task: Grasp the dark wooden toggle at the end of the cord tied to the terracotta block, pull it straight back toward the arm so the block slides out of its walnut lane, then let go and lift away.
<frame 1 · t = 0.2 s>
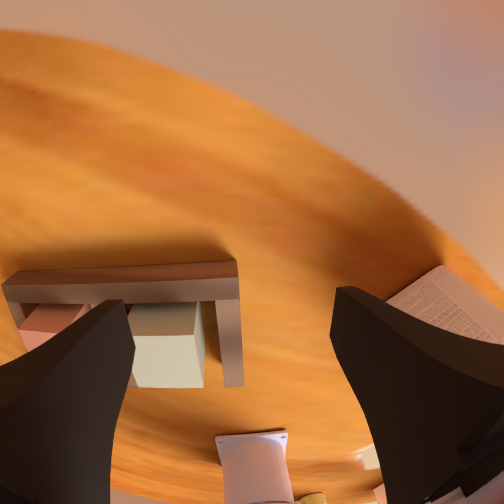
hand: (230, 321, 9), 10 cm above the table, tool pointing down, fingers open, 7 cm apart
plain block: (172, 318, 21), resting in lane rack
lane rack: (79, 329, 20), on the table
tethered block: (75, 319, 20), on the table
tube: (312, 495, 39), on the table
photo printer: (403, 303, 23), on the table
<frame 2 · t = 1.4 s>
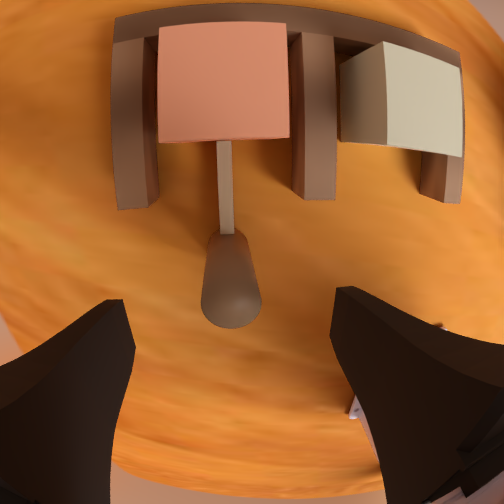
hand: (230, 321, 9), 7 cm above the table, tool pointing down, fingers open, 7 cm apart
plain block: (375, 107, 14), resting in lane rack
lane rack: (223, 116, 13), on the table
tethered block: (223, 98, 13), on the table
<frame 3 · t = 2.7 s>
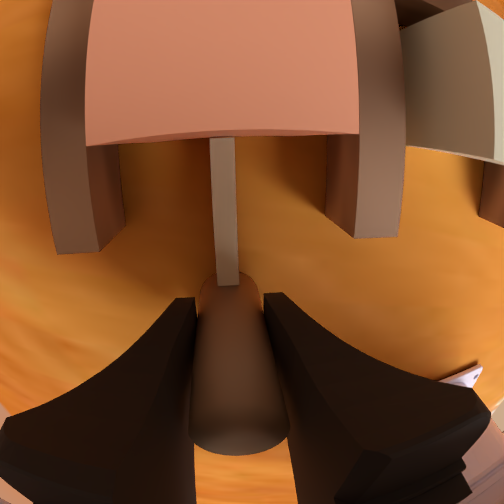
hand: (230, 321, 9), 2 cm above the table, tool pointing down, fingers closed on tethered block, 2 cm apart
plain block: (435, 98, 9), resting in lane rack
lane rack: (221, 99, 8), on the table
tethered block: (220, 71, 8), on the table, touching gripper
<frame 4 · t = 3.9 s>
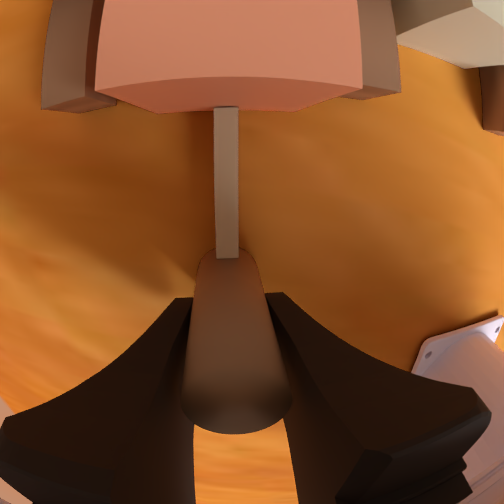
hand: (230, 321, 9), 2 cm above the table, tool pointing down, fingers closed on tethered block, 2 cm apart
plain block: (422, 12, 7), resting in lane rack
tethered block: (226, 48, 8), on the table, touching gripper
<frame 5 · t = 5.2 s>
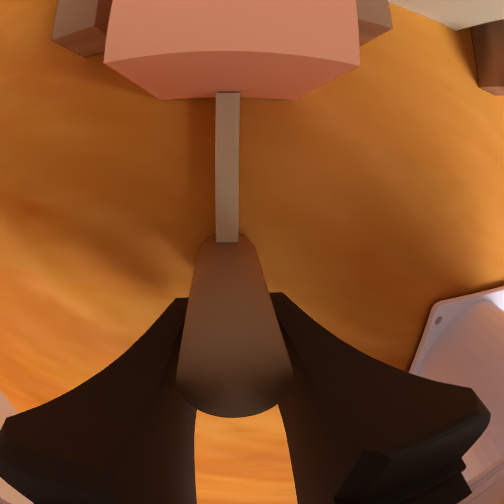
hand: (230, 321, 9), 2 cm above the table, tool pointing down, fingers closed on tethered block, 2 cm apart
tethered block: (229, 38, 8), on the table, touching gripper
when the fingers open (2 cm above the table, at t = 5.5 s): tethered block stays where it is, on the table.
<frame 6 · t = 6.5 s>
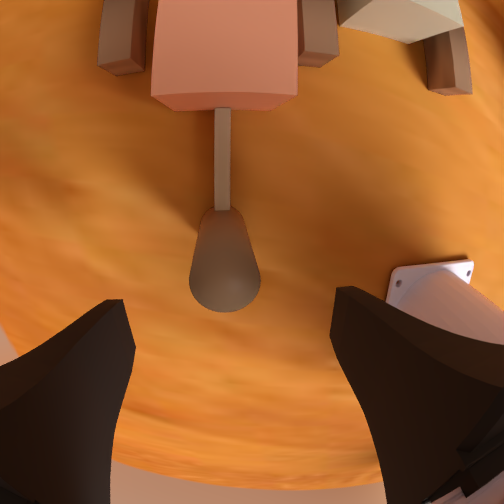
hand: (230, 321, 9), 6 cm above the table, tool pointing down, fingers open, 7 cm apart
plain block: (371, 3, 10), resting in lane rack
tethered block: (223, 66, 12), on the table
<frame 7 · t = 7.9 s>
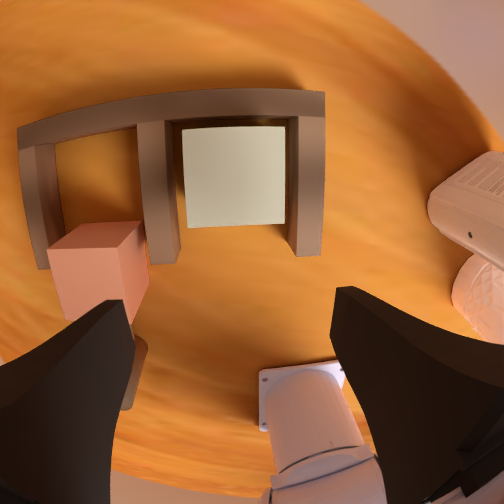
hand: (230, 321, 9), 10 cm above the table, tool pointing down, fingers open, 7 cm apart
plain block: (231, 167, 17), resting in lane rack
lane rack: (102, 194, 17), on the table
tethered block: (115, 253, 18), on the table
white cup: (471, 280, 23), on the table
photo printer: (463, 187, 19), on the table
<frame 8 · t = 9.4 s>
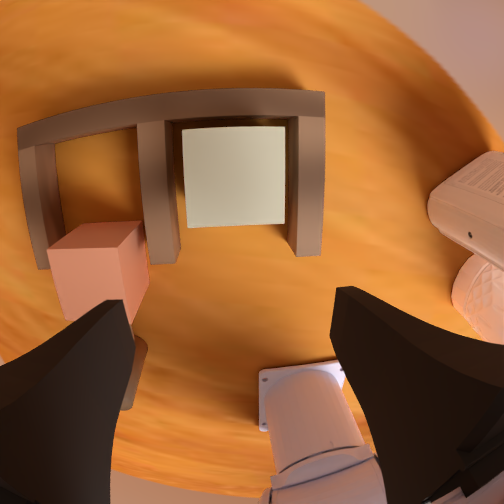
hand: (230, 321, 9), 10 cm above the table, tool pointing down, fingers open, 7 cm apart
plain block: (231, 167, 17), resting in lane rack
lane rack: (102, 194, 17), on the table
tethered block: (115, 253, 18), on the table
white cup: (471, 280, 23), on the table
photo printer: (463, 187, 19), on the table
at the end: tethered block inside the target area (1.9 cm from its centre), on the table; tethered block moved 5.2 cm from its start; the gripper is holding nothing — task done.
